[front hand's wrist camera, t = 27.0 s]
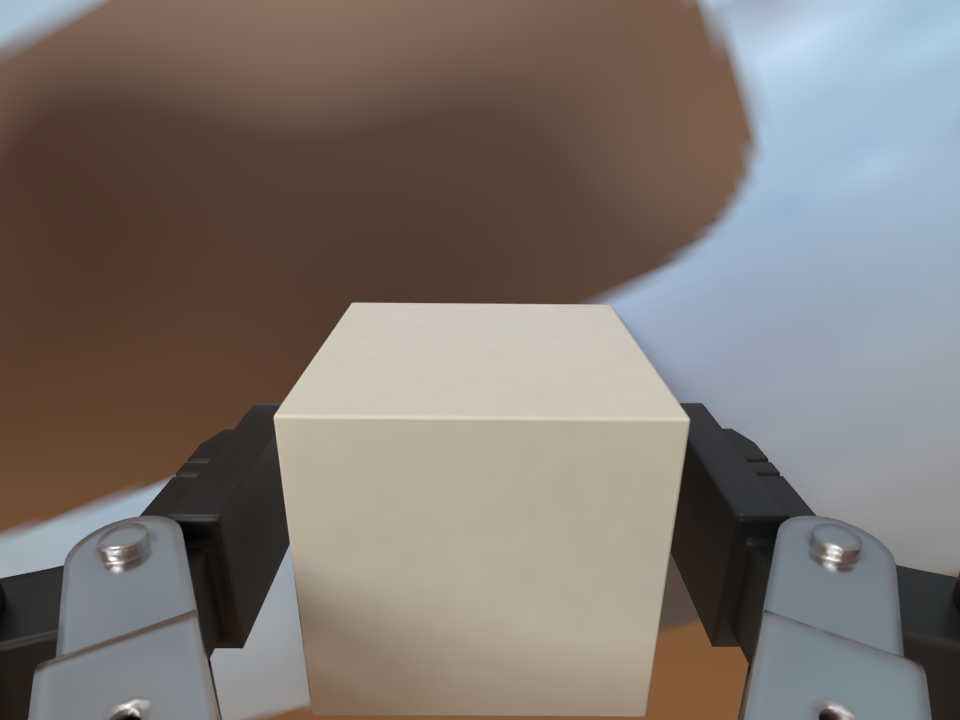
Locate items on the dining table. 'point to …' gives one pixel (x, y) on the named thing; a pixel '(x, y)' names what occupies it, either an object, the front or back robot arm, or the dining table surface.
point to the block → (480, 511)
